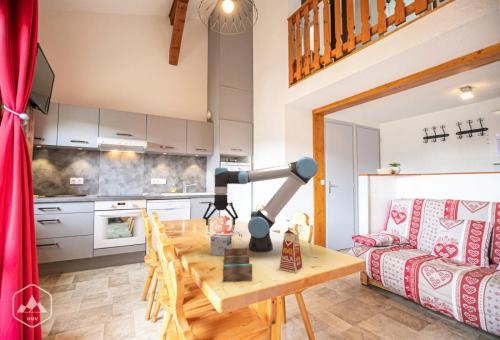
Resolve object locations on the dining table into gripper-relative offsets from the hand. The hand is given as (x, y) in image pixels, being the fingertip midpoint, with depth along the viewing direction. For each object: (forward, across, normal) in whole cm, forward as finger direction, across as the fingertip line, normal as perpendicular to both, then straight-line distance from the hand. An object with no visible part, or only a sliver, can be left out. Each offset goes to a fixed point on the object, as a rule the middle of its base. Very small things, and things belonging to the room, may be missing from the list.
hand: (220, 231), depth 143 cm
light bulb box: (+13, 0, 0) cm, 13 cm away
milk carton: (+13, -34, +27) cm, 46 cm away
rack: (+13, -8, +25) cm, 30 cm away
